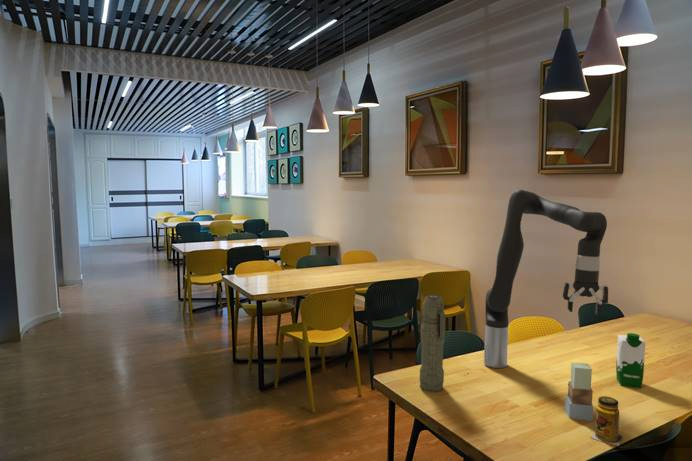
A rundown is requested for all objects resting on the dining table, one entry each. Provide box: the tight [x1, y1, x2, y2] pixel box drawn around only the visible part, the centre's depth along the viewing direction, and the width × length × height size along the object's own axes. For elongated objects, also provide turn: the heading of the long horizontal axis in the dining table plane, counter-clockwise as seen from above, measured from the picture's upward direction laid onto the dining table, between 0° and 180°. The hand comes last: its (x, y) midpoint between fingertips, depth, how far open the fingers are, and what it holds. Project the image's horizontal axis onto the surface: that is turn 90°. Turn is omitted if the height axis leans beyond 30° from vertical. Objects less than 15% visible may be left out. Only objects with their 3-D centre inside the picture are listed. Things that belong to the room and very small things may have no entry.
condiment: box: [590, 395, 625, 447], centre depth 139 cm, size 7×8×12 cm
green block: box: [570, 361, 593, 390], centre depth 153 cm, size 5×5×7 cm
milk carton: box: [615, 332, 646, 389], centre depth 179 cm, size 9×9×20 cm
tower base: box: [564, 394, 594, 422], centre depth 154 cm, size 7×7×5 cm
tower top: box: [567, 380, 594, 406], centre depth 153 cm, size 6×6×5 cm
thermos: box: [419, 294, 447, 393], centre depth 173 cm, size 9×12×35 cm
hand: (583, 312), depth 165 cm, fingers open, 8 cm apart
